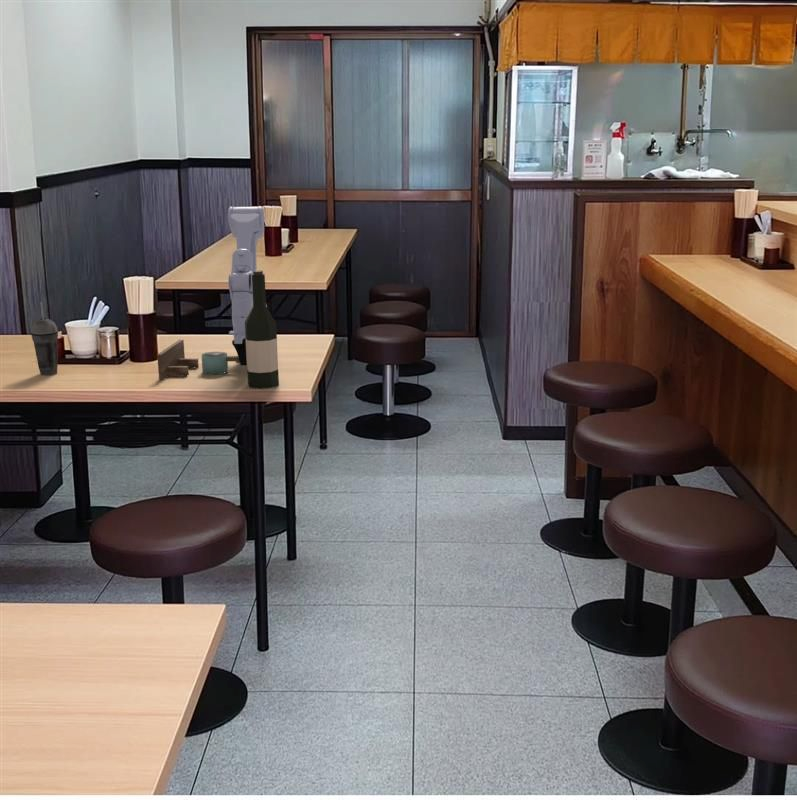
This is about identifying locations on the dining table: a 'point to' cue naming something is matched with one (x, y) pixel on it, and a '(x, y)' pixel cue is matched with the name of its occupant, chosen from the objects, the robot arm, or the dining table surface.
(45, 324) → the beverage cup
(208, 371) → the pot
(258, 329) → the wine bottle
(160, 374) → the holder
